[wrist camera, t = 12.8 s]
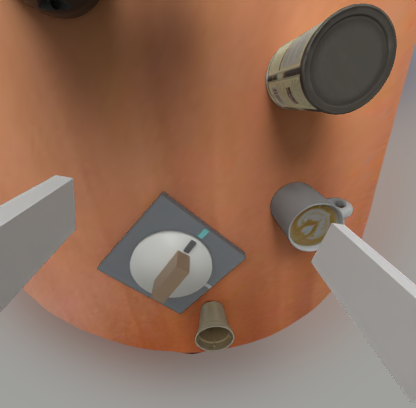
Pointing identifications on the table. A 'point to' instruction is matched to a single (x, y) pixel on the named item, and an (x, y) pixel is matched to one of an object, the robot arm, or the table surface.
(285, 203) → the coffee mug
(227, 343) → the flower pot
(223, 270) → the base plate
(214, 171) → the table surface
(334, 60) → the coffee can
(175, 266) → the dial
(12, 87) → the table surface
